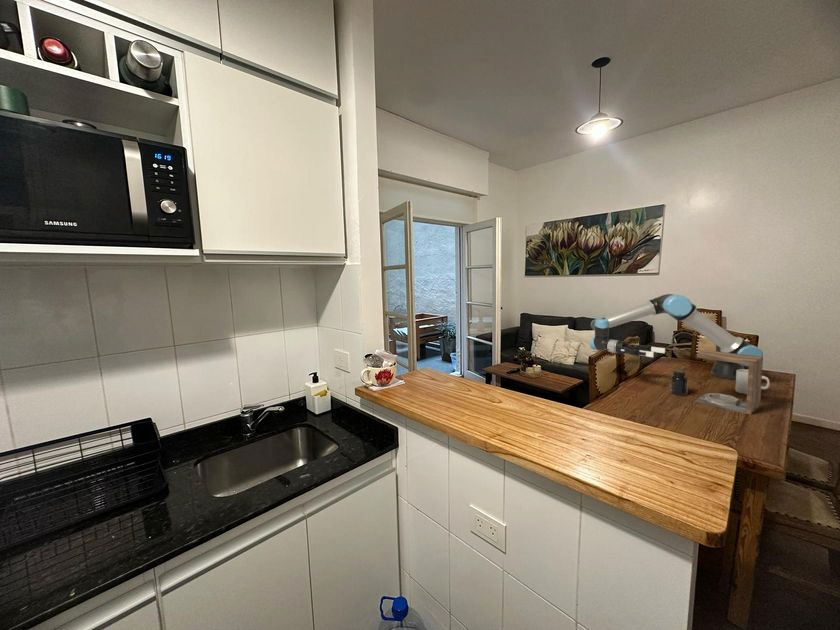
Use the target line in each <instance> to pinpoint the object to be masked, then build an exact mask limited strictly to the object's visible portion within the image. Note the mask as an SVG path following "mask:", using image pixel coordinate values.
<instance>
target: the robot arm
mask: <svg viewBox="0 0 840 630" xmlns="http://www.w3.org/2000/svg"><path fill="white" fill-rule="evenodd" d="M660 314H667V315H668V316H670V317H671V318H672V319H674V320H675V321H678V322H684V323H685V324H687V325H688V326H689V327H690V328H692V329H693V330H695V331H696V332H698V333H699V335H700V334H701V335H702V336H703V337H705V338H706V339H707V340H708V341H711V343H713V344H714V345H715V351H717V352H726V353H734V354H742V355H751V356H759V357H763V358H764V353H763V351H762V349H761V348H759V347H758V346H756V345H752V344H751V343H749V342H748V341H746V340H745V339H744V338H743V337H740V336H734V335H732V333H729V332H728V331H726V329H724V328H722V327H721V326H720V325H718V324H717V323H715V322H714V321H712V320H711V319H710V318H708V317H707V316H706V315H704V314H703V313H701V312H700V311H698V310H697V306H696V305H695V304H694V303H692V302H691V300H690V298H688V297H686V296H684V295H681V294H673V293H665V294H663V295H660V296H658V297H654V298H651V299H650V300H648V301H646V302H645V303H643V304H639V305H636V306H634V307H630V308H628V309H625V310H621V311H620V312H616V313H613V314H609V315H607V316H604V317H601V318H596V319H593V320H592V321H590V322H591V323H590V328H591V329H592V330H593V331H594V337H592V338H591V339H590V342H589V346H590V348H591V349H592V350H596V351H600V352H601V350H604V349H609V350H607V351H608V352H607V351H606V352H607V353H611V354H614V353H615V354H620V355H625V354H628V355H631V356H636V357H638V358H639V357H640V356H641V357H647V358H648V357H649V358H654V357H655V356H654V355H655V353H660V354H666V348H665V347H656V346H653V345H652V344H650V345H646V344H643V345H641V344H628V342H627V341H625V340H624V341H623V340H618V339H609V335H610V329H611V328H614V327H617V326H620V325H623V324H626V323H629V322H632V321H635V320H638V319H641V318H645V317H648V316H650V315H652V316H657V315H660ZM745 367H749V365H747V364H740V363H733V362H725V361H718V360H715V362H714V364H713V367H712V368H711V370H710V374H711V376H713V377H716V378H721V379H725V380H727V379H729V380H736V371H737V370H738V369H745Z"/></svg>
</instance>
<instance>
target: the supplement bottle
mask: <svg viewBox="0 0 840 630" xmlns="http://www.w3.org/2000/svg"><path fill="white" fill-rule="evenodd" d="M672 372H673V373H672V374H673V375H671V377H670V394H671V395H674V394H675V396H678V395H680V397H686V396H688V383H689V381H688V378H687V377H686V371H683V370H678V369H677V370H672Z"/></svg>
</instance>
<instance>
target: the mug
mask: <svg viewBox="0 0 840 630" xmlns="http://www.w3.org/2000/svg"><path fill="white" fill-rule="evenodd" d="M748 370H749V369H745V368H744V369H738V370H737V371H736V379H735V392H737V393H739V394H742V393H743V394H744V395H747V388H748ZM762 380H764V381H765V380H766V385H765V386H763V385H761V391H762V390H768V389H769V387H770V384H771V382H770V379H769V378H768V377H767V376H765V375H762ZM743 394H742V395H743Z"/></svg>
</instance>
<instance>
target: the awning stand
mask: <svg viewBox="0 0 840 630" xmlns="http://www.w3.org/2000/svg"><path fill="white" fill-rule="evenodd" d="M696 358H697V359H698V358H699V359H704V360H711V361H716V360H718V361H725V362H733V363H740V364H747V365H749V366H748V369H747V370H748V388H747V394H746V401H741V400H740V399H739V398H737V397H735V396H734V395H729V394H723V393H715V392H713V393H711V392H710V393H709V392H708V393H705V394H703V395H701V396H700V397H698V398H696V399H695V400H694V402H695V403H697V404H698V403H699V404H702V405H703V404H704V405H708V406H712V407H717V408H721V409H725V410H728V411H732V412H737V413H741V414H746V415H753V414H754V413H755V412H756V411H758V410H759V409H760V408H761V397H762V396H761V395H762V389H761V386H762V382H763V381H762V380H763V379H762V376H763V361H764V356H763V357H759V356H751V355H742V354H734V353H726V352H717V351H716V350H708V349H707V350H705V351H702V352H700V353H697V354H696ZM753 412H754V413H753Z"/></svg>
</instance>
